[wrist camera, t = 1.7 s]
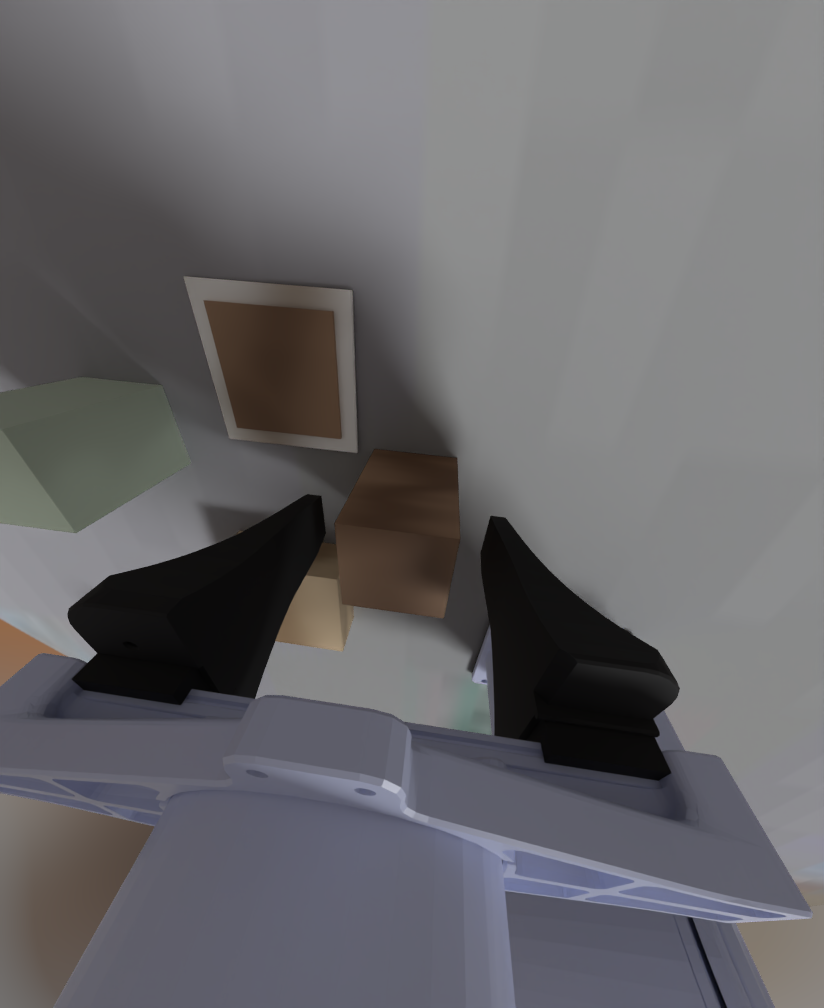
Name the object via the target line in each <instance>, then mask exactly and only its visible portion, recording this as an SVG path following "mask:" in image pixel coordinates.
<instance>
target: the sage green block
mask: <svg viewBox="0 0 824 1008" xmlns="http://www.w3.org/2000/svg"><path fill="white" fill-rule="evenodd" d="M189 464H191V461H190V458H189V455H188V453H187V450H186V448H185V445H184V442H183V440H182V437H181V434H180V432H179V429H178V426H177V424H176V421H175V418H174V416H173V413H172V410H171V408H170V405H169V403H168V400H167V397H166V395H165V392H164V389H163V387H162V385H155V384H145V383H136V382H126V381H116V380H107V379H97V378H87V377H78V378H73V379H68V380H63V381H58V382H53V383H47V384H42V385H37V386H32V387H27V388H22V389H16V390H11V391H6V392H1V393H0V523H3V524H10V525H18V526H25V527H33V528H40V529H48V530H55V531H63V532H70V533H77V532H79V531H81V530H82V529H84V528H85V527H87V526H89V525H90V524H92V523H94V522H95V521H97V520H99V519H100V518H102V517H104V516H105V515H107V514H108V513H110V512H112V511H113V510H115V509H117V508H118V507H120V506H122V505H123V504H125V503H127V502H128V501H130V500H132V499H133V498H135V497H136V496H138V495H140V494H141V493H143V492H145V491H146V490H148V489H150V488H151V487H153V486H155V485H156V484H158V483H160V482H161V481H163V480H164V479H166V478H168V477H169V476H171V475H173V474H174V473H176V472H178V471H179V470H181V469H183V468H184V467H186V466H188V465H189Z"/></svg>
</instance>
